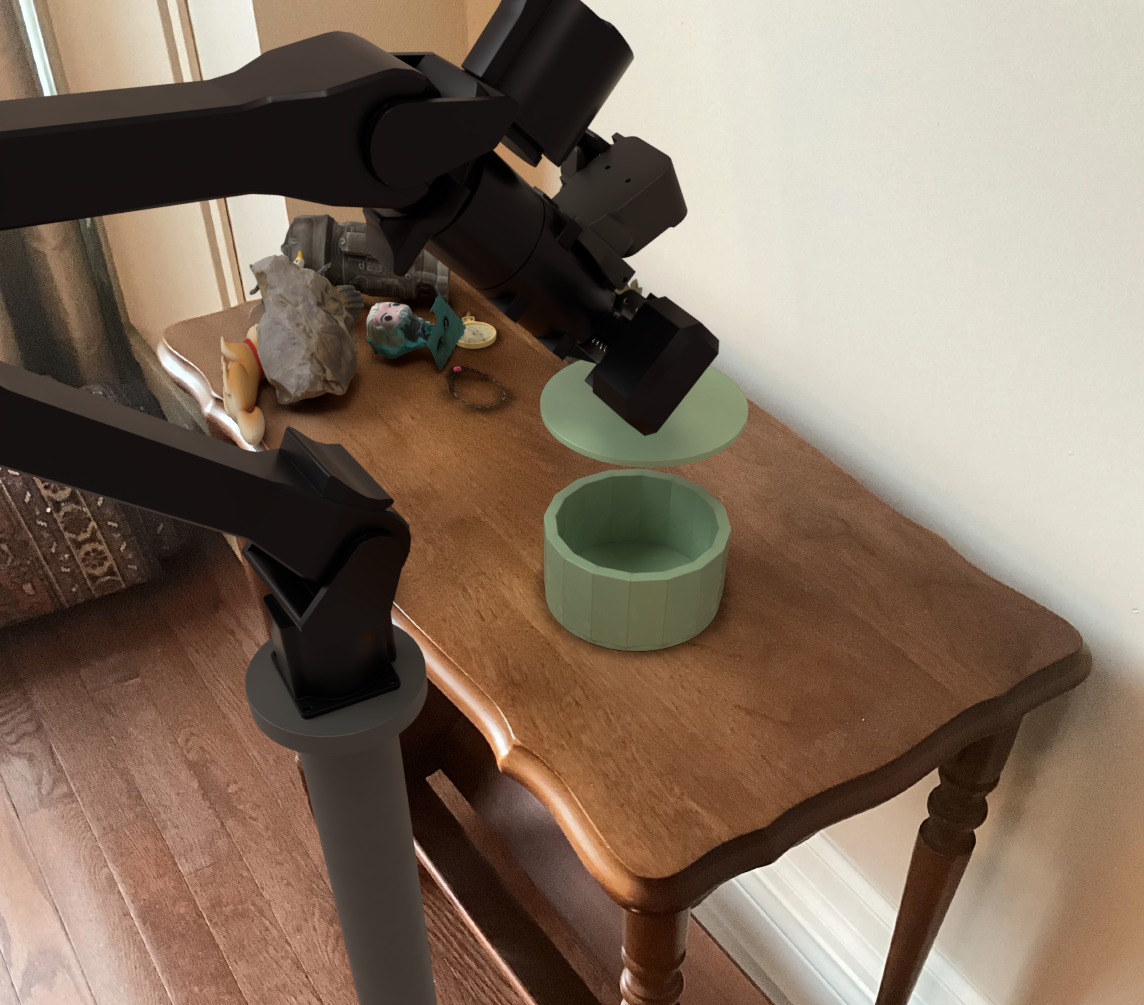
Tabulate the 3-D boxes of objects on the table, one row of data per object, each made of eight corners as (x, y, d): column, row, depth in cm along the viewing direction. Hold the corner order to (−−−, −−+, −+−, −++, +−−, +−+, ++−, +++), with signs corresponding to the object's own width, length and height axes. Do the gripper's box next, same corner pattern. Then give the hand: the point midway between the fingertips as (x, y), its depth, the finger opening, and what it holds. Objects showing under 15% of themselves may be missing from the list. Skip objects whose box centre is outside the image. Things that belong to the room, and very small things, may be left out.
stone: (384, 404, 99) (347, 372, 89) (304, 431, 100) (259, 402, 90) (346, 274, 98) (305, 227, 88) (267, 302, 99) (217, 259, 89)
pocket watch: (500, 346, 103) (500, 341, 102) (456, 351, 102) (456, 346, 101) (487, 313, 106) (487, 308, 106) (444, 318, 106) (444, 313, 105)
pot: (597, 673, 74) (600, 601, 70) (515, 568, 82) (513, 497, 77) (754, 617, 78) (766, 546, 74) (662, 521, 85) (668, 451, 81)
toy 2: (448, 315, 110) (285, 299, 108) (452, 251, 109) (288, 233, 107) (447, 289, 101) (271, 271, 100) (451, 219, 101) (274, 200, 99)
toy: (219, 339, 101) (278, 343, 102) (226, 460, 91) (292, 462, 92) (218, 303, 99) (278, 307, 100) (225, 423, 88) (293, 426, 90)
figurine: (384, 280, 89) (307, 299, 93) (428, 393, 94) (353, 408, 98) (448, 231, 98) (375, 251, 101) (485, 337, 103) (414, 353, 106)
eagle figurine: (295, 245, 105) (373, 270, 102) (283, 326, 108) (359, 354, 105) (234, 234, 99) (316, 261, 95) (223, 321, 101) (302, 350, 98)
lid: (618, 501, 68) (623, 407, 63) (501, 401, 75) (498, 309, 70) (789, 435, 72) (804, 343, 68) (664, 346, 80) (670, 258, 75)
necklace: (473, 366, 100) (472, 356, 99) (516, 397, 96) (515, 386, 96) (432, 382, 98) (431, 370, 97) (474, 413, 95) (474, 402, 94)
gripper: (706, 163, 53) (849, 335, 65) (509, 45, 64) (663, 211, 76) (556, 367, 56) (719, 495, 68) (392, 222, 67) (558, 354, 79)
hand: (664, 379), depth 72 cm, fingers closed on lid, 2 cm apart
